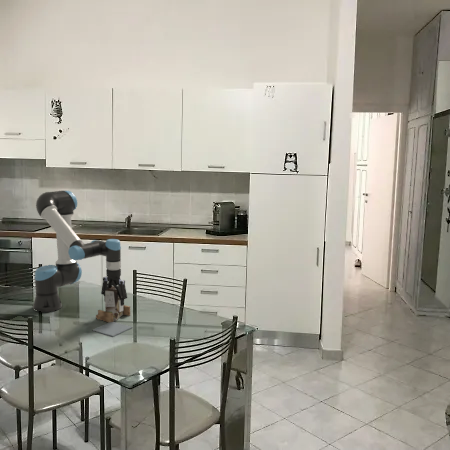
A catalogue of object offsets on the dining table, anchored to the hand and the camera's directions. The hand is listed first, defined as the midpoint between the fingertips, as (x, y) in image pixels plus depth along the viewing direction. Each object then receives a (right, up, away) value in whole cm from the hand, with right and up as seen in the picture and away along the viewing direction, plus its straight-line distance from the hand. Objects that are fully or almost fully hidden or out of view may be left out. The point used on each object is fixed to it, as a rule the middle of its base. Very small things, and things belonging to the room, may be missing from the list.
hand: (114, 309), depth 272 cm
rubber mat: (+3, -7, -16) cm, 18 cm away
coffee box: (0, -5, +1) cm, 5 cm away
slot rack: (0, -4, +1) cm, 4 cm away
